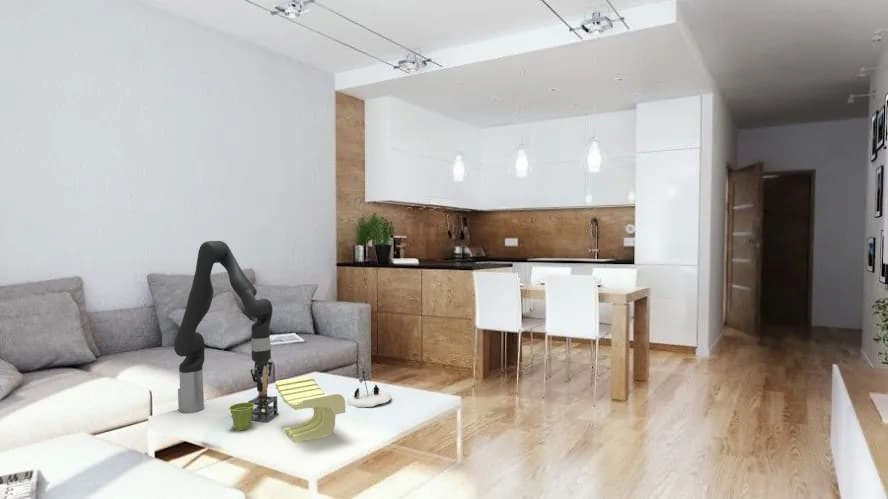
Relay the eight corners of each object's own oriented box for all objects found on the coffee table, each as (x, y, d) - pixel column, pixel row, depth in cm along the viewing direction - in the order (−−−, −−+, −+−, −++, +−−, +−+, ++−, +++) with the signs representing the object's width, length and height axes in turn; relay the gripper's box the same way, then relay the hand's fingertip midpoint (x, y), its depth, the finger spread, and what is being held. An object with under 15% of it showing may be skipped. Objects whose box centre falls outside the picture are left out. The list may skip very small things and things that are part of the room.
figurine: (395, 393, 266) (390, 358, 265) (387, 406, 248) (382, 369, 247) (352, 397, 268) (348, 362, 268) (342, 410, 250) (337, 373, 249)
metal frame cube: (247, 421, 234) (246, 401, 234) (258, 413, 243) (258, 395, 243) (268, 422, 233) (267, 402, 232) (278, 415, 241) (278, 396, 241)
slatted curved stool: (346, 440, 213) (344, 392, 212) (304, 450, 204) (302, 400, 203) (315, 417, 238) (314, 374, 237) (276, 425, 229) (275, 381, 228)
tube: (257, 406, 236) (255, 368, 235) (261, 404, 240) (260, 365, 239) (265, 407, 236) (263, 368, 235) (269, 404, 239) (268, 366, 238)
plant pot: (240, 434, 221) (239, 411, 220) (224, 429, 226) (223, 407, 225) (260, 426, 228) (259, 404, 228) (244, 422, 233) (243, 401, 233)
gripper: (261, 344, 244) (262, 384, 245) (243, 351, 230) (244, 394, 231) (277, 344, 243) (279, 385, 244) (260, 352, 229) (262, 395, 230)
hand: (262, 389), depth 237 cm, fingers closed on tube, 3 cm apart
